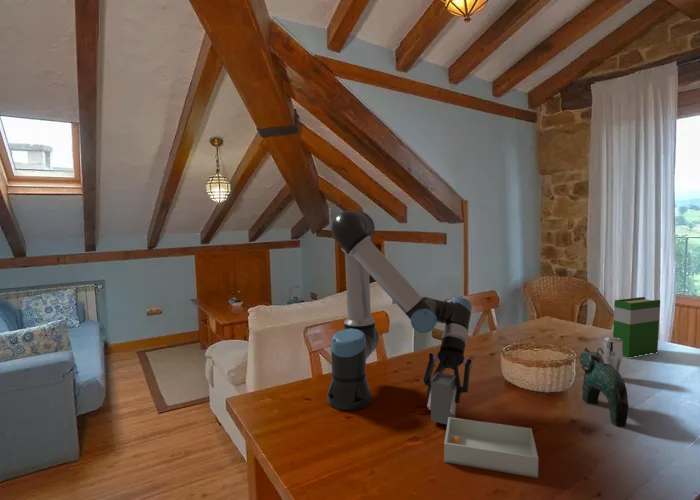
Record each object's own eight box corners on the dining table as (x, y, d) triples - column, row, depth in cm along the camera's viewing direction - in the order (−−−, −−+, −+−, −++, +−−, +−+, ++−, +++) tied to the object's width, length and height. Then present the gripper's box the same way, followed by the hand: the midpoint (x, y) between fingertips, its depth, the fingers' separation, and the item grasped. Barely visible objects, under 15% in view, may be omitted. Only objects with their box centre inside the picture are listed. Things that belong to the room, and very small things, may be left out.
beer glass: (625, 382, 150) (627, 342, 148) (604, 381, 151) (606, 341, 150) (616, 374, 156) (618, 337, 155) (597, 373, 158) (598, 336, 156)
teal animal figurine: (576, 397, 138) (578, 340, 137) (595, 397, 138) (598, 340, 136) (612, 428, 119) (615, 361, 117) (634, 428, 118) (638, 361, 117)
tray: (444, 461, 104) (444, 443, 103) (448, 433, 117) (448, 416, 116) (537, 477, 97) (538, 458, 96) (531, 445, 110) (531, 428, 110)
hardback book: (640, 348, 186) (643, 296, 184) (657, 353, 179) (660, 300, 177) (612, 353, 180) (614, 300, 178) (628, 358, 173) (631, 303, 171)
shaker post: (436, 412, 127) (436, 372, 126) (455, 416, 124) (456, 375, 123) (430, 420, 122) (430, 379, 121) (450, 425, 119) (451, 382, 118)
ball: (451, 433, 109) (456, 434, 111) (446, 443, 109) (451, 444, 111) (461, 439, 107) (465, 440, 109) (456, 450, 107) (460, 450, 109)
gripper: (485, 350, 131) (475, 422, 118) (428, 342, 139) (412, 408, 127) (482, 339, 125) (471, 412, 113) (423, 331, 134) (406, 399, 121)
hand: (440, 410), depth 120 cm, fingers closed on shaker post, 6 cm apart
